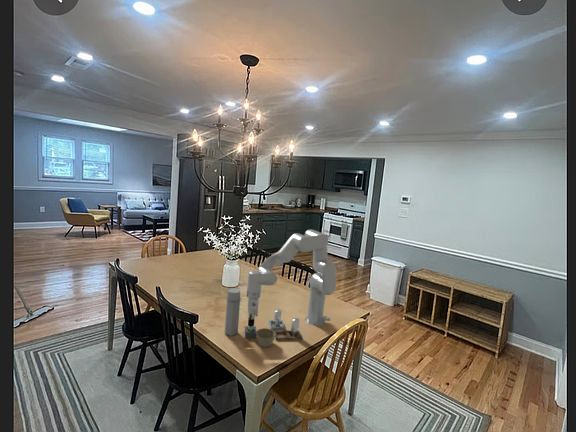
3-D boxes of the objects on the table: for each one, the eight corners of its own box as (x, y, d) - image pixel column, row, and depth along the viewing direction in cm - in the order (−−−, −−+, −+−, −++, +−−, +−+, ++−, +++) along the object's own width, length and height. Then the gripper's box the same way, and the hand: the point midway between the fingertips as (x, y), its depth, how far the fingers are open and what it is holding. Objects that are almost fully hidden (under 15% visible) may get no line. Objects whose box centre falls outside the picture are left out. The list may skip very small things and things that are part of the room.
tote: (282, 324, 186) (282, 320, 186) (284, 331, 178) (284, 327, 178) (268, 324, 184) (269, 320, 184) (270, 331, 177) (270, 327, 176)
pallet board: (298, 334, 176) (299, 330, 176) (301, 341, 169) (301, 337, 169) (273, 335, 173) (274, 330, 173) (275, 342, 166) (276, 337, 166)
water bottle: (221, 331, 172) (224, 289, 168) (234, 328, 176) (237, 286, 173) (229, 339, 164) (232, 295, 161) (242, 335, 169) (245, 293, 165)
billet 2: (296, 334, 174) (298, 317, 172) (298, 338, 170) (300, 321, 169) (289, 334, 173) (291, 317, 172) (291, 338, 169) (292, 321, 168)
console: (255, 333, 173) (255, 326, 173) (256, 338, 168) (256, 332, 167) (244, 333, 172) (245, 326, 172) (245, 339, 166) (245, 332, 166)
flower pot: (269, 353, 156) (270, 340, 155) (251, 347, 159) (252, 334, 158) (277, 343, 165) (278, 331, 164) (260, 338, 168) (261, 326, 167)
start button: (253, 329, 171) (253, 324, 171) (253, 332, 168) (254, 327, 168) (247, 329, 171) (248, 324, 170) (248, 332, 168) (248, 327, 167)
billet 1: (279, 325, 184) (280, 309, 182) (280, 328, 180) (282, 312, 178) (272, 325, 183) (274, 309, 181) (273, 328, 179) (275, 312, 177)
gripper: (261, 299, 160) (258, 332, 162) (259, 288, 174) (256, 318, 177) (247, 299, 158) (244, 332, 161) (246, 288, 173) (243, 318, 175)
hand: (250, 325), depth 169 cm, fingers closed
